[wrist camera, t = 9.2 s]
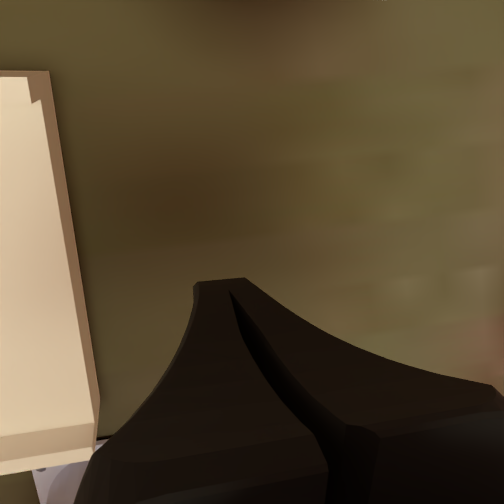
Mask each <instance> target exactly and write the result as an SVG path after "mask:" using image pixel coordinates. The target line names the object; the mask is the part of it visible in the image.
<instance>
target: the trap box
mask: <svg viewBox="0 0 504 504" xmlns="http://www.w3.org/2000/svg"><path fill="white" fill-rule="evenodd" d="M99 407H100V394H99V388H98V382H97V375H96V369H95V362H94V356H93V350H92V343H91V337H90V330H89V324H88V318H87V311H86V305H85V298H84V292H83V286H82V279H81V273H80V266H79V260H78V254H77V247H76V241H75V234H74V228H73V222H72V215H71V209H70V202H69V196H68V190H67V183H66V177H65V170H64V164H63V158H62V151H61V145H60V138H59V132H58V126H57V119H56V113H55V106H54V100H53V94H52V87H51V81H50V74H49V71H16V70H0V475H5V474H11V473H17V472H23V471H29V470H35V469H41V468H47V467H53V466H58V465H64V464H70V463H76V462H82V461H88V460H90V458H91V456H92V454H93V453H94V452H95V447H96V437H97V427H98V417H99Z"/></svg>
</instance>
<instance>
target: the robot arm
mask: <svg viewBox="0 0 504 504" xmlns="http://www.w3.org/2000/svg"><path fill="white" fill-rule="evenodd" d="M193 296H194V303H193V309H192V312H191V316H190V319H189V323H188V326H187V328H186V331H185V333H184V336H183V338H182V341H181V343H180V346H179V348H178V350H177V352H176V354H175V356H174V358H173V359H172V361H171V363H170V365H169V367H168V368H167V370H166V371H165V373H164V374H163V376H162V378H161V379H160V381H159V382H158V384H157V385H156V387H155V388H154V389H153V391H152V392H151V393H150V395H149V396H148V397H147V399H146V400H145V401H144V402H143V403H142V404H141V406H140V407H139V408H138V409H137V410H136V412H135V413H134V414H133V415H132V416H131V417H130V419H129V420H128V421H127V422H126V423H125V424H124V425H123V426H122V427H121V428H120V429H119V430H118V431H117V432H116V433H115V434H114V435H113V436H112V437H111V438H110V439H105V440H99V441H96V447H95V452H94V453H93V454H92V456H91V458H90V460H88V461H82V462H76V463H70V464H64V465H58V466H53V467H47V468H41V469H35V470H32V474H33V478H34V481H35V485H36V489H37V493H38V497H39V501H40V504H504V396H502V395H501V394H500V393H499V392H498V391H497V390H496V389H495V388H494V387H493V386H492V385H488V384H483V383H479V382H474V381H469V380H464V379H459V378H455V377H450V376H445V375H440V374H436V373H433V372H429V371H426V370H422V369H418V368H415V367H411V366H408V365H405V364H402V363H398V362H395V361H392V360H389V359H386V358H384V357H381V356H378V355H376V354H373V353H371V352H368V351H365V350H363V349H360V348H358V347H356V346H353V345H351V344H349V343H347V342H345V341H343V340H341V339H338V338H336V337H334V336H332V335H330V334H328V333H326V332H324V331H323V330H321V329H319V328H317V327H315V326H314V325H312V324H310V323H309V322H307V321H305V320H304V319H302V318H301V317H299V316H297V315H296V314H294V313H293V312H291V311H290V310H288V309H287V308H285V307H284V306H283V305H281V304H280V303H278V302H277V301H276V300H274V299H273V298H271V297H270V296H269V295H267V294H266V293H265V292H263V291H262V290H261V289H259V288H258V287H257V286H256V285H254V284H253V283H252V282H250V281H249V280H247V279H246V278H234V279H223V280H212V281H202V282H197V283H196V284H195V285H194V286H193Z"/></svg>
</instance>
